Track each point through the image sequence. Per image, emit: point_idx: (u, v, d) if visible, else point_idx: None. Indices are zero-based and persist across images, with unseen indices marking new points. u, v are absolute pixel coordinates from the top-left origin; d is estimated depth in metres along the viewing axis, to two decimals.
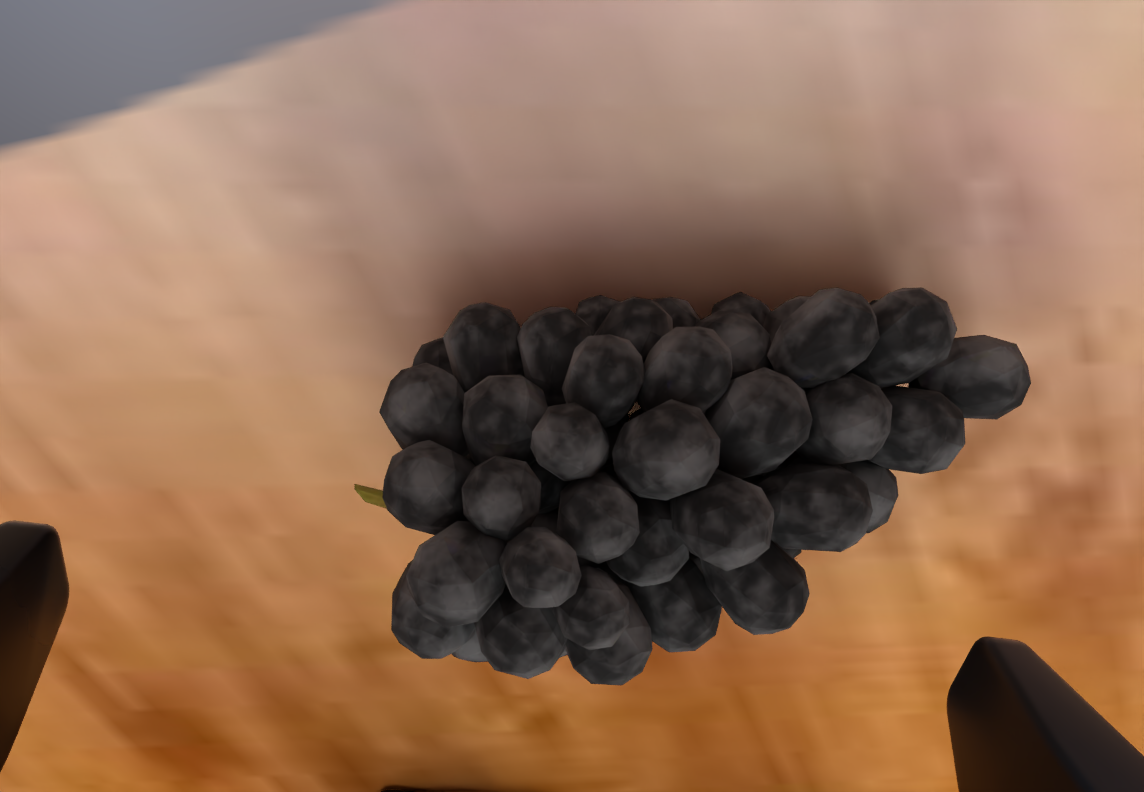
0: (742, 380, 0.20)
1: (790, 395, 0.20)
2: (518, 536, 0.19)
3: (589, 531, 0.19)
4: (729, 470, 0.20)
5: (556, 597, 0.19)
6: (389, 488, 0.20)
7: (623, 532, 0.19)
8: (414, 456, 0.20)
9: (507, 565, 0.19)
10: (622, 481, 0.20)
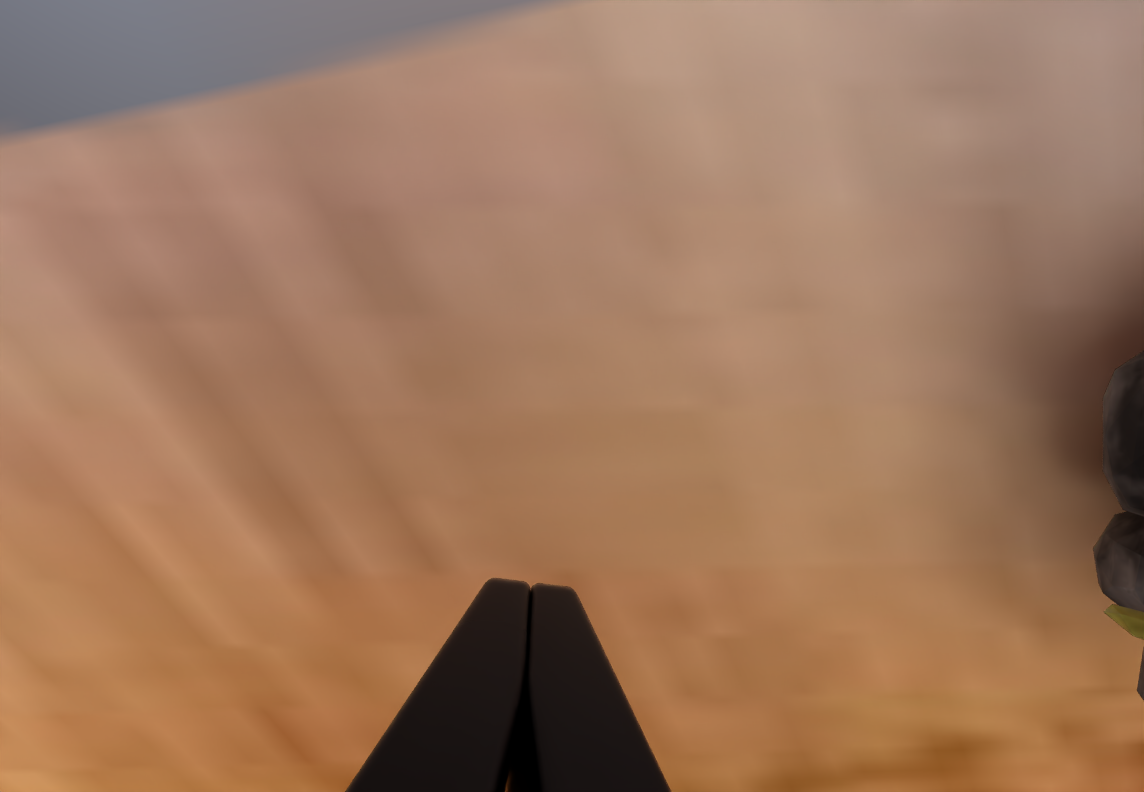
0: None
1: None
2: None
3: None
4: None
5: None
6: None
7: None
8: None
9: None
10: None
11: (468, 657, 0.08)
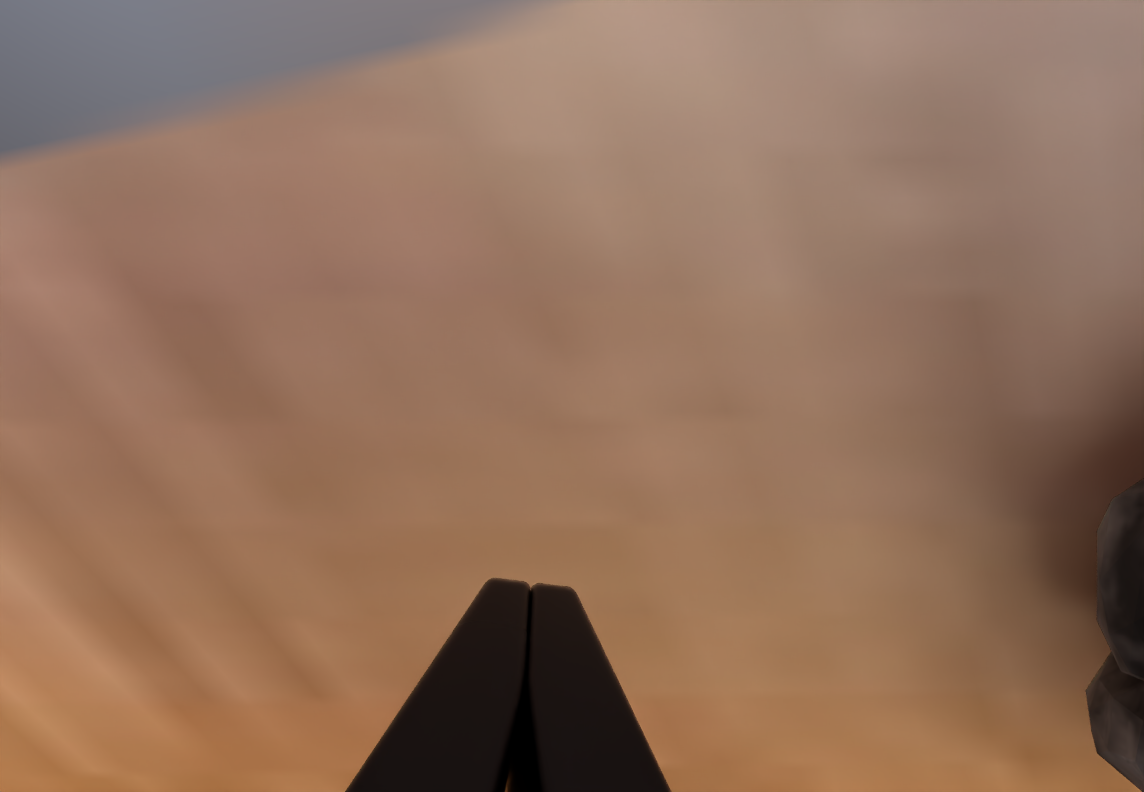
0: None
1: None
2: None
3: None
4: None
5: None
6: None
7: None
8: None
9: None
10: None
11: (468, 657, 0.08)
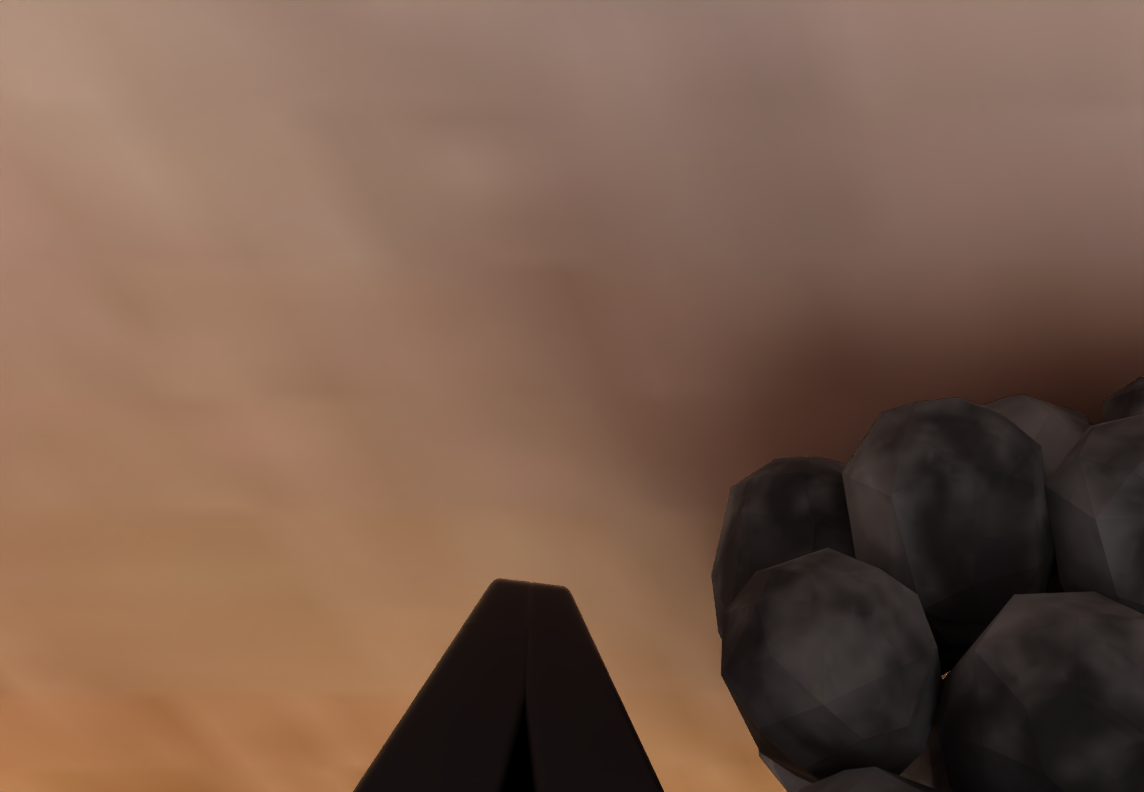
0: None
1: None
2: None
3: None
4: None
5: None
6: None
7: None
8: None
9: None
10: None
11: (474, 658, 0.08)
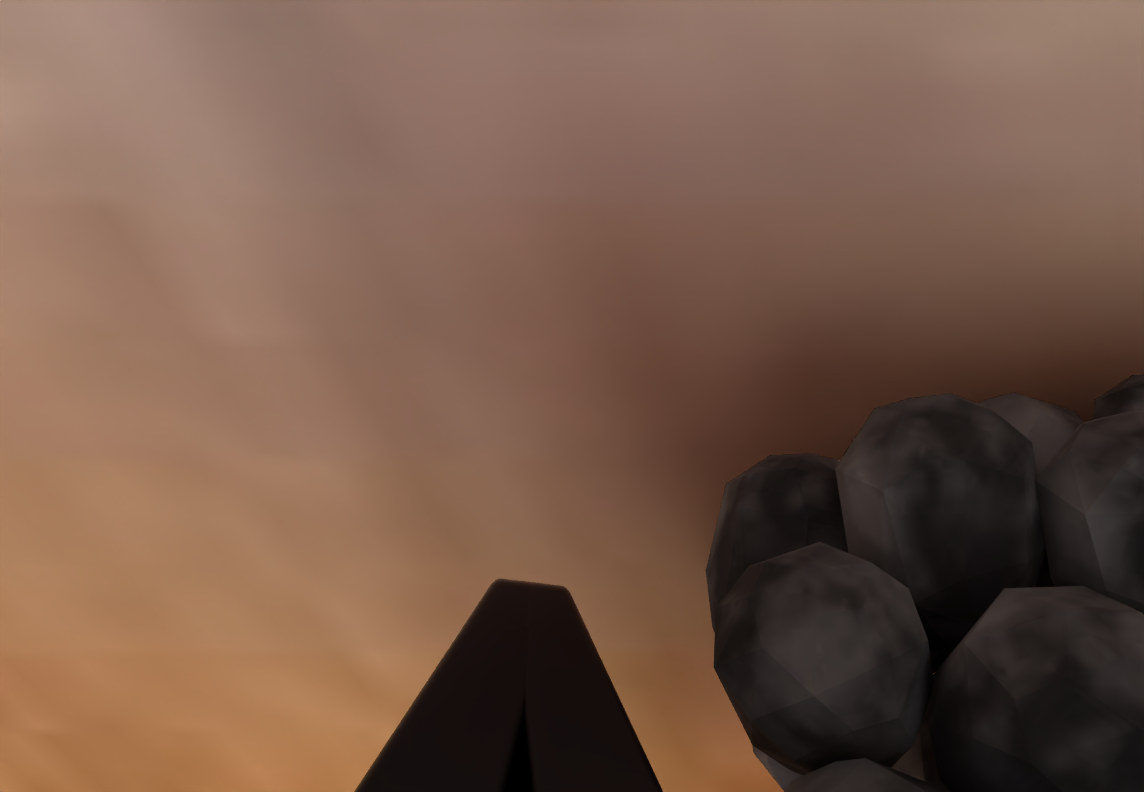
0: None
1: None
2: None
3: None
4: None
5: None
6: None
7: None
8: None
9: None
10: None
11: (475, 658, 0.08)
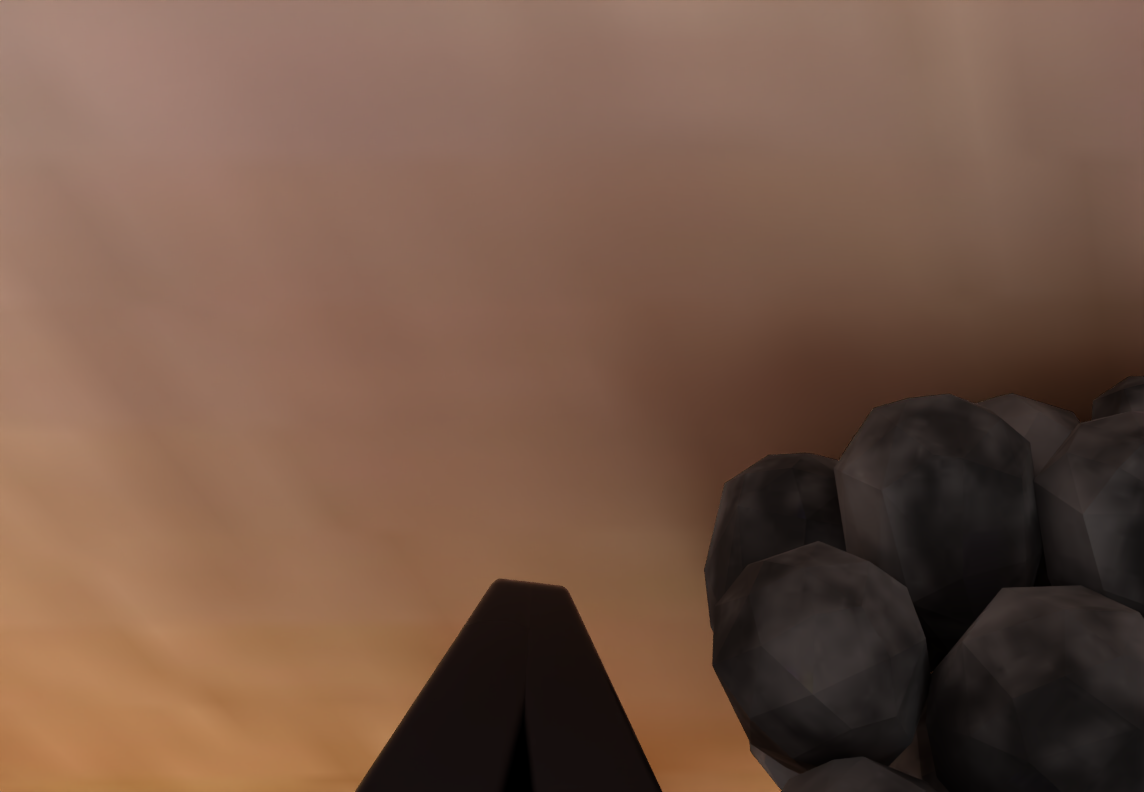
0: None
1: None
2: None
3: None
4: None
5: None
6: None
7: None
8: None
9: None
10: None
11: (475, 658, 0.08)
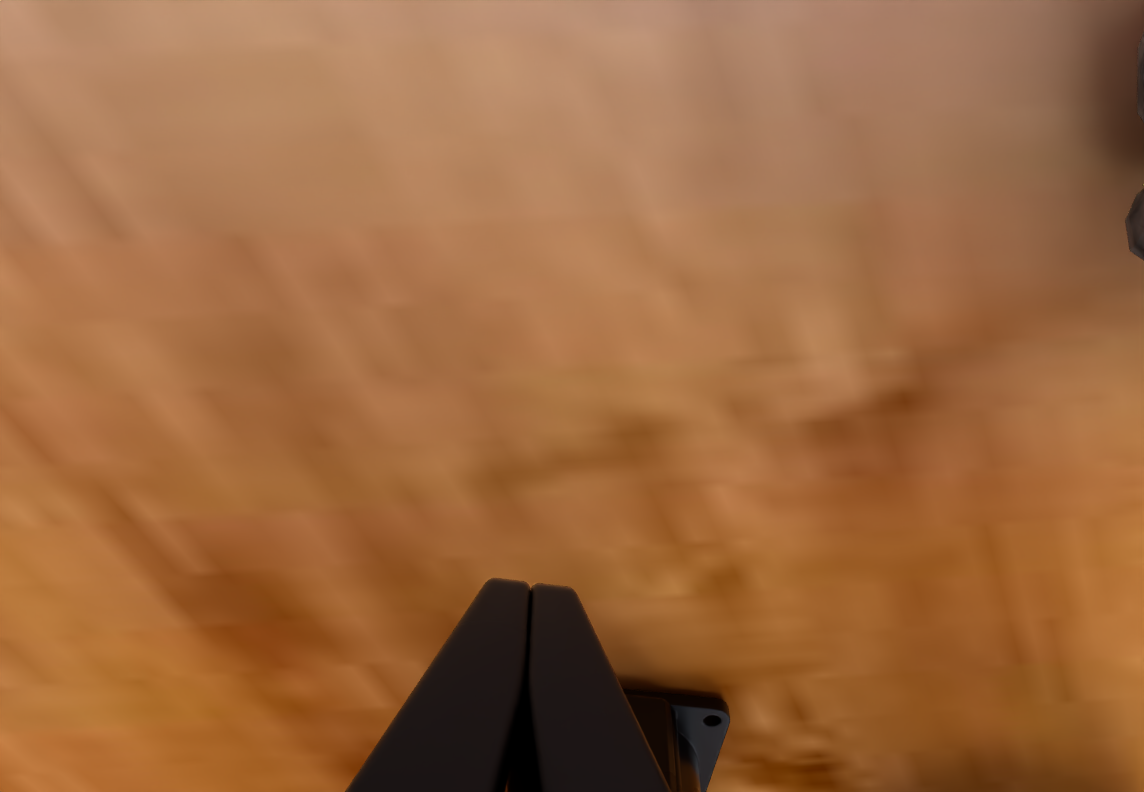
0: None
1: None
2: None
3: None
4: None
5: None
6: None
7: None
8: None
9: None
10: None
11: (468, 657, 0.08)
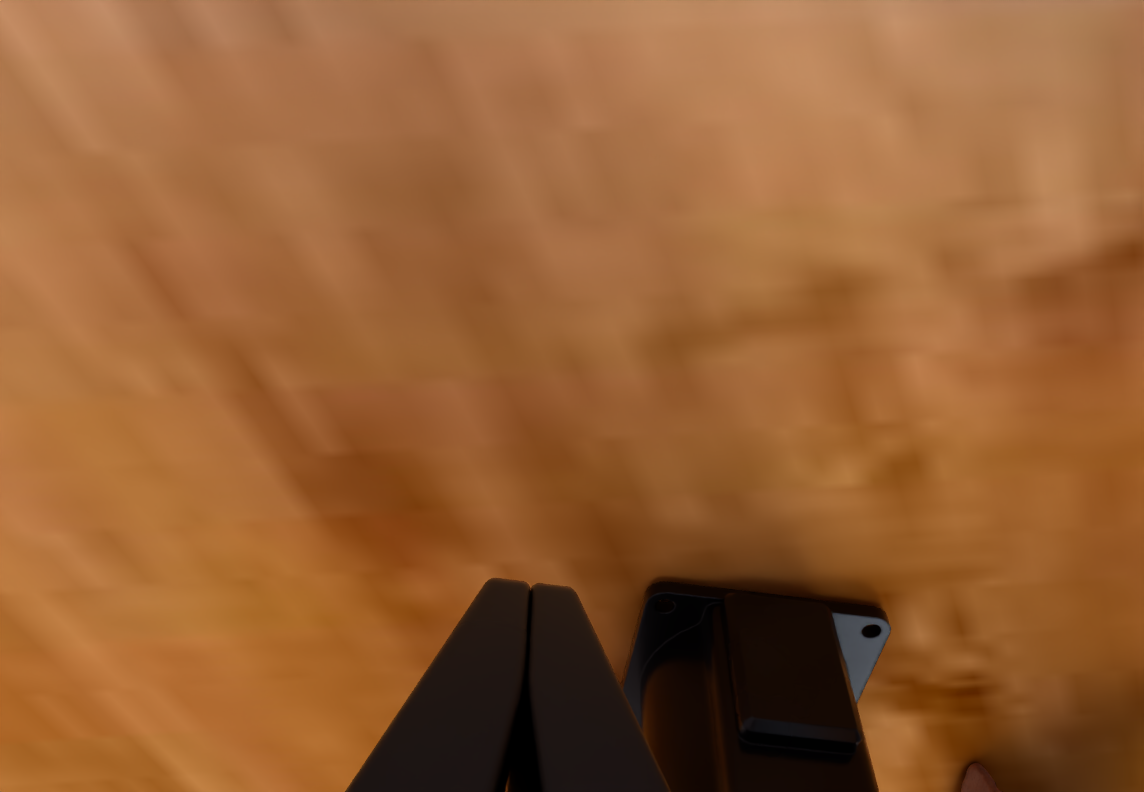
0: None
1: None
2: None
3: None
4: None
5: None
6: None
7: None
8: None
9: None
10: None
11: (468, 657, 0.08)
